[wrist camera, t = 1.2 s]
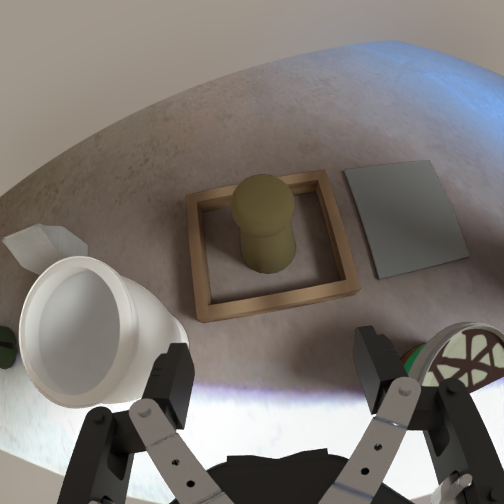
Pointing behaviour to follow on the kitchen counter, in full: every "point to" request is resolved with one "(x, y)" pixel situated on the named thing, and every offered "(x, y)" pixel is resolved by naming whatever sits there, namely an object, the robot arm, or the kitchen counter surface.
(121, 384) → the jar
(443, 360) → the food container
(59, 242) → the white tea box
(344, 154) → the kitchen counter surface
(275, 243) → the olive pawn figure
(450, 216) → the mat
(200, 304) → the frame
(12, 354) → the character mug
